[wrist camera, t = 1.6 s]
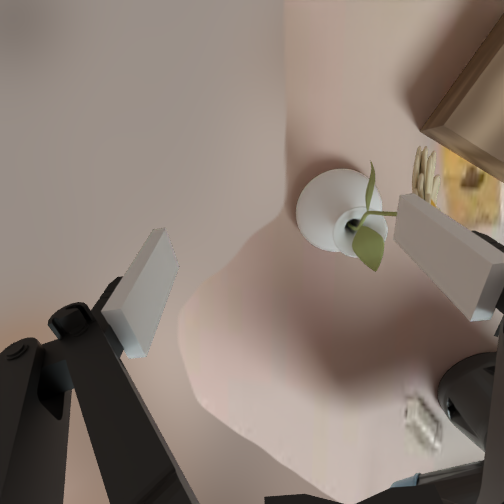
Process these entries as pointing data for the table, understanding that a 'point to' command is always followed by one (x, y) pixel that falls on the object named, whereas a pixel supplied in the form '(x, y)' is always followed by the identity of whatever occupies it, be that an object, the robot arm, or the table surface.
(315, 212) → the flower in vase
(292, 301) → the table surface
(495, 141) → the walnut block
